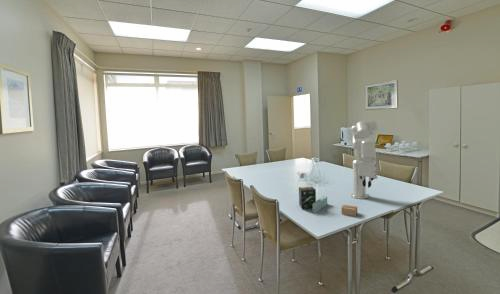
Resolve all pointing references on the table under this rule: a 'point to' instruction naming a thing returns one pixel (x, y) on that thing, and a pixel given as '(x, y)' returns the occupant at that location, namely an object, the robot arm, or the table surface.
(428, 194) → the table surface
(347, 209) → the block
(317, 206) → the board
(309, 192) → the tampon box
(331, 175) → the table surface
